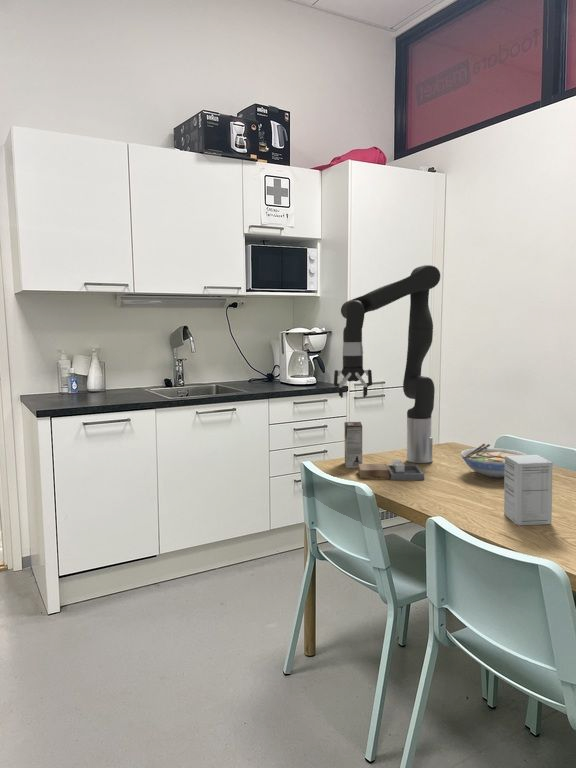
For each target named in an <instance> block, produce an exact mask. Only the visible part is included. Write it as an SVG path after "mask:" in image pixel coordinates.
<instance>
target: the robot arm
mask: <svg viewBox="0 0 576 768" xmlns="http://www.w3.org/2000/svg"><path fill="white" fill-rule="evenodd" d="M440 281H441V271H440V270H439V268H438V267H436V266H435V265H432V264H424V265H420V266H418V267H415V268H414V269H413V270H412V271H411V273H410V274H409V276H407V277H404V278H403V279H400V280H397V281H395V282H391V283H389V284H386V285H383V286H380V287H378V288H376V289H373V290H371V291H370V292H368V293H365V294H363V295H360V296H358V297H355V298H353V299H350V300H347V301H345V302H343V304H342V306H341V308H340V314H341V316H342V317H343V318H344V319H346V322H345V327H344V328H343V332H342V334H343V335H342V336H343V339H342V370H339V369H338V370H337V369H334V373H333V374H334V375H333V385H334V387H337V388H338V396H339V397H340V399H342V398H344V390H343V389H344V388H343V387H344V384H346V382H360V384H361V385H362V386H363V387H362V397H363V398H366V396H368V388H369V387H371V386H373V377H372V375H373V373H372V370H371V369H370V368H369V369H366V370H365V369H364V363H363V362H364V348H363V327H364V321H365V314H366V313H369V312H374V311H376V310H379V309H381V308H384V307H385V306H388V305H390V304H392V303H393V302H396V301H398V300H400V299H402V298H404V297H406V296H410V299H409V300H410V305H409V306H410V307H409V318H408V319H409V321H408V332H407V352H406V363H405V370H404V375H403V383H402V390H403V393H404V396H405V397H406V398H408V399H410V400H414V405H413V406H412V407H411V408H409V409H407V411H406V462H408V463H413V464H426V463H427V464H429V463H433V437H432V414H433V411H434V406H435V392H436V391H435V389H436V388H435V384H434V381H433V379H432V378H431V377H430V376H424V375H422V367H423V362H424V361H425V360H424V359H425V358H426V356H427V354H428V352H429V350H430V348H431V346H432V344H433V336H434V322H433V317H432V315H431V311H430V310H431V309H430V307H429V298H430V297H429V295H430V290H431V289H433V288H435V287H436V286H437V285H438V284H439V282H440ZM340 375H342V376H343V378H342V380H341V381H340V382H339V383H338V380H339V379H338V377H339V376H340ZM363 375H366V376H367V382H366V381H365V380H364V379H363V378H362V377H363Z"/></svg>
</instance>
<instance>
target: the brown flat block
mask: <svg viewBox="0 0 576 768" xmlns="http://www.w3.org/2000/svg"><path fill="white" fill-rule="evenodd" d="M387 465H388V464H387V463H362V464H358V468H357V469H358V475H359V477H360V479H361V478H390V470H389V468H388V466H387Z"/></svg>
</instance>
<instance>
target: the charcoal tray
mask: <svg viewBox="0 0 576 768" xmlns="http://www.w3.org/2000/svg"><path fill="white" fill-rule="evenodd" d="M386 465H387V466H388V468H389V470H390V478H391V479H390V480H391V481H423V480H424V481H425V474H424V472H423V471H422V470H421V468H420V467H419V465H418V464H404V466H405V468H404V474H394V473H393V471H392V464H389V465H388V464H386Z"/></svg>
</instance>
